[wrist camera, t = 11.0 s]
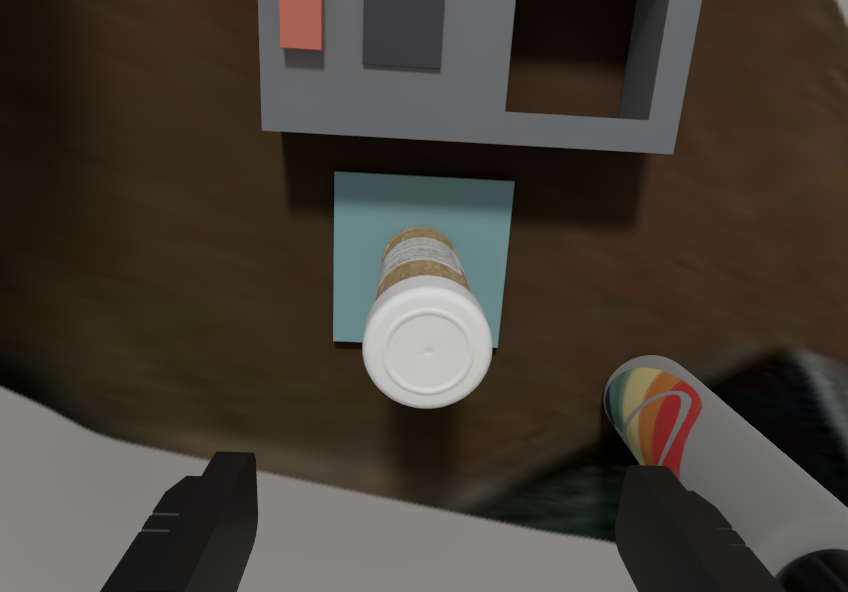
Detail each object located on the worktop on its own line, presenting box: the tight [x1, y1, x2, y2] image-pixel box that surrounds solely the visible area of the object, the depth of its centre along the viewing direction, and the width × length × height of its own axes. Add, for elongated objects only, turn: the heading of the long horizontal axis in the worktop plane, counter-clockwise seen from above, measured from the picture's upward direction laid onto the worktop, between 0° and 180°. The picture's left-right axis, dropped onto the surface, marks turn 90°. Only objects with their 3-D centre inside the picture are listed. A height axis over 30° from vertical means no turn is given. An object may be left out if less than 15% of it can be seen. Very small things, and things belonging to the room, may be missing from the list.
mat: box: [333, 171, 515, 348], centre depth 31 cm, size 10×10×1 cm
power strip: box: [258, 0, 702, 154], centre depth 26 cm, size 20×10×5 cm, turn 87°
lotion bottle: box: [603, 355, 848, 592], centre depth 25 cm, size 6×6×20 cm
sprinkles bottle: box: [362, 226, 493, 409], centre depth 25 cm, size 5×5×13 cm
